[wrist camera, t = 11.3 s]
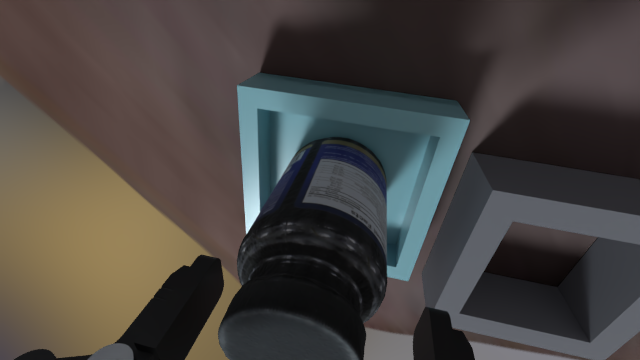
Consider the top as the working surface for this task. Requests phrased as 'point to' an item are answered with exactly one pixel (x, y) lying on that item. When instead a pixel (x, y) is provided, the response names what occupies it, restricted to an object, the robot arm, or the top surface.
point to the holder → (529, 297)
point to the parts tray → (359, 125)
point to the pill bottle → (313, 259)
